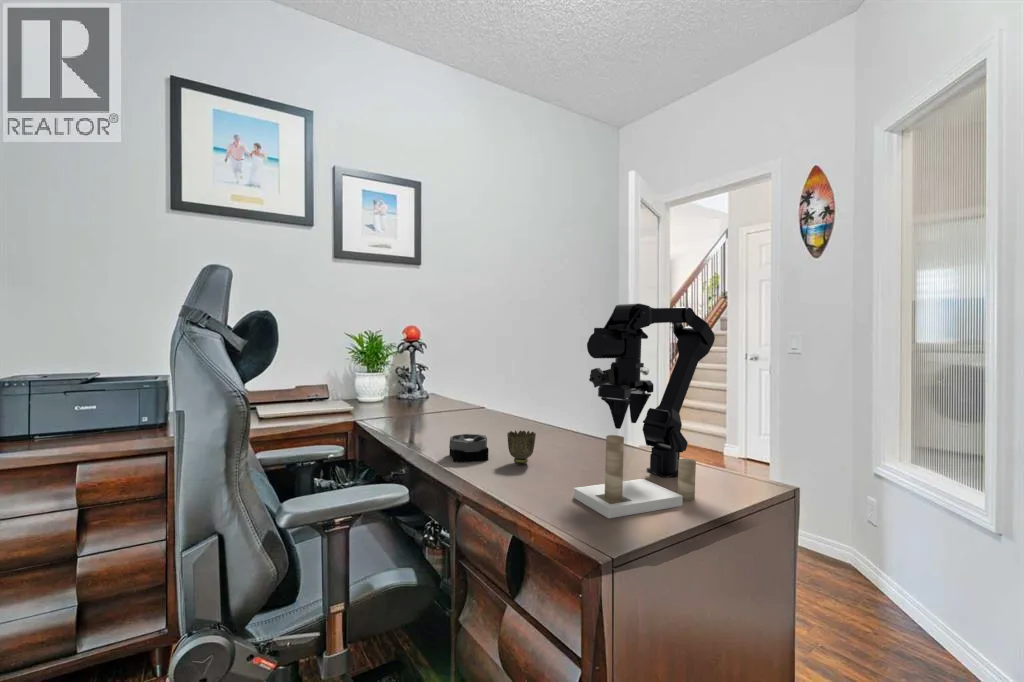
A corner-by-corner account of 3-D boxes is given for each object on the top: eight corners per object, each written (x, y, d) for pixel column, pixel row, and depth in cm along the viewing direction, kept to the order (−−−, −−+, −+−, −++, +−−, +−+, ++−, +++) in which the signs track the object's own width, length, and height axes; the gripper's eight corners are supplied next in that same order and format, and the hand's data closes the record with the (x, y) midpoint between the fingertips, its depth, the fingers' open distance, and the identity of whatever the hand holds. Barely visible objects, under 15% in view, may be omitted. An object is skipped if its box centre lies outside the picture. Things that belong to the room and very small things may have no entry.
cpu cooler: (452, 442, 123) (446, 433, 133) (452, 464, 123) (446, 454, 133) (492, 440, 126) (483, 432, 136) (491, 462, 126) (482, 452, 136)
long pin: (609, 503, 97) (611, 434, 96) (624, 507, 95) (626, 437, 94) (601, 508, 94) (603, 437, 94) (617, 512, 92) (619, 439, 92)
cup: (508, 458, 129) (509, 429, 129) (536, 460, 128) (536, 430, 128) (504, 466, 121) (505, 435, 121) (533, 468, 120) (534, 436, 120)
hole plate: (642, 487, 107) (642, 478, 107) (682, 505, 97) (682, 495, 96) (573, 497, 100) (573, 488, 100) (608, 518, 89) (608, 507, 89)
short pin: (686, 495, 103) (687, 457, 103) (698, 500, 100) (699, 461, 100) (673, 496, 102) (675, 459, 102) (685, 502, 99) (687, 463, 99)
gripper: (612, 355, 123) (610, 416, 124) (577, 357, 108) (575, 426, 108) (655, 357, 117) (653, 421, 117) (624, 360, 102) (622, 433, 102)
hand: (626, 425), depth 111 cm, fingers open, 9 cm apart
